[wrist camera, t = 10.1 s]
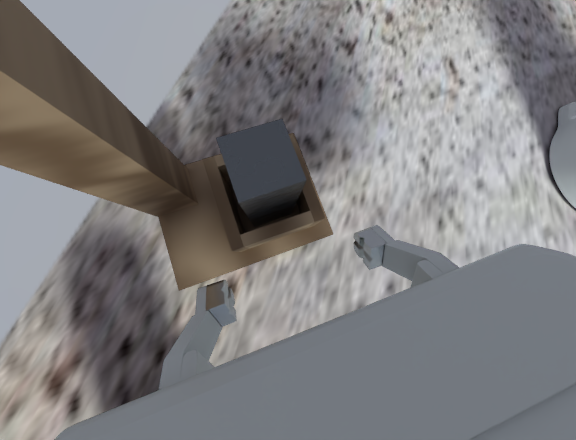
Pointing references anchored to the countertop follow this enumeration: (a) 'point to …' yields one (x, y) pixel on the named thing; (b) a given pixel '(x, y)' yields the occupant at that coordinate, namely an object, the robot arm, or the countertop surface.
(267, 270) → the countertop surface
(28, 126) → the wooden peg slot stand
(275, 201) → the dark grey square peg
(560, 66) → the countertop surface
